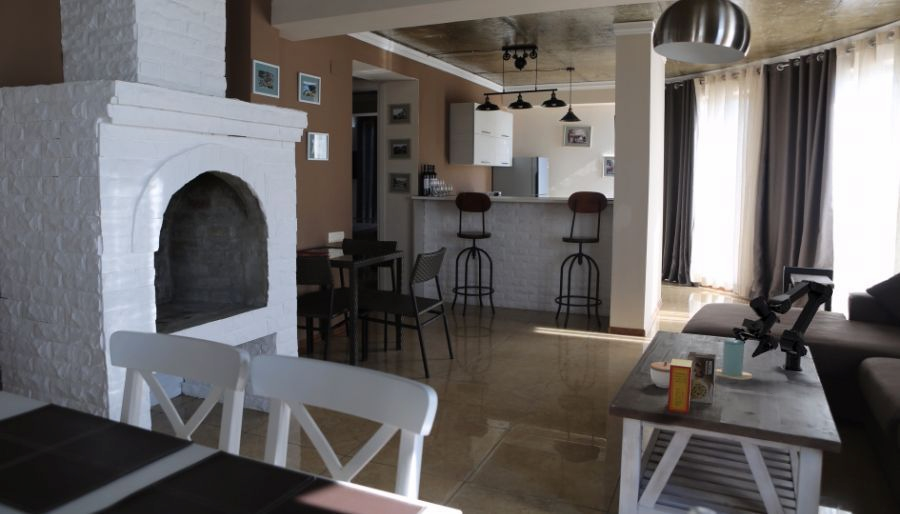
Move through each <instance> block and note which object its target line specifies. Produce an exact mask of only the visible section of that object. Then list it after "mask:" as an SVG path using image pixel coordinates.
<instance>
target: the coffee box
mask: <svg viewBox="0 0 900 514" xmlns="http://www.w3.org/2000/svg"><path fill="white" fill-rule="evenodd" d="M716 359H717V354H714V353H705V352H694V351H690V352H689V353H688V355H687V360H692V377H691V394H690V402H696V403H703V402H704V403H705V404H711V405H712V404H714V401H715V387H716V386H715V385H716V383H715V382H716V375H715V369H716V364H717V360H716Z"/></svg>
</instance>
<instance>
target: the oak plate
mask: <svg viewBox="0 0 900 514" xmlns="http://www.w3.org/2000/svg"><path fill="white" fill-rule="evenodd" d="M716 376H717V377H720V378H723V379H730V380H737V381H738V380H739V381H740V380H743V381H744V380H750V379H752V378H753V375H752V374H751V373H749V372H747V371H744V370H743V373H742V376H738V377H736V376H727V375H724V374H723V373H722V368H717V369H716V368H715V377H716Z"/></svg>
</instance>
